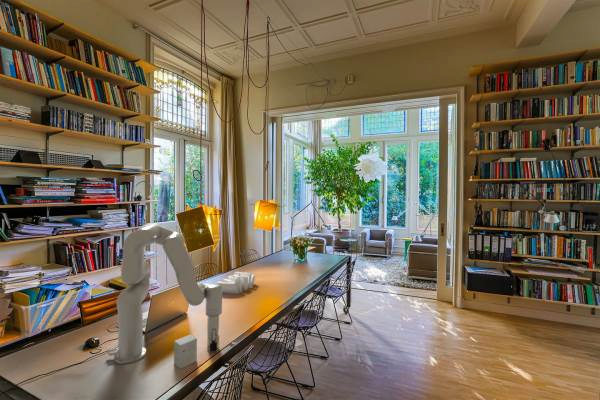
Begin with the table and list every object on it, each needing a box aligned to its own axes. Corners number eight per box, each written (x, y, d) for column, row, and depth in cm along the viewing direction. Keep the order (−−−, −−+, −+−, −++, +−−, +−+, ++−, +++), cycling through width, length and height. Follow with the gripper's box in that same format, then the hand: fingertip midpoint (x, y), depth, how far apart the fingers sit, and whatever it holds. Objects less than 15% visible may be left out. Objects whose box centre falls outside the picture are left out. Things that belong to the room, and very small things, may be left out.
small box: (190, 356, 132) (190, 333, 132) (197, 361, 129) (197, 338, 128) (173, 364, 126) (173, 340, 126) (179, 369, 123) (180, 345, 122)
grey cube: (207, 353, 135) (207, 340, 135) (207, 347, 141) (207, 334, 140) (219, 351, 137) (219, 338, 137) (218, 345, 142) (219, 333, 142)
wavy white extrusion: (231, 297, 206) (231, 283, 205) (214, 293, 213) (214, 279, 213) (259, 284, 237) (259, 271, 237) (243, 281, 244) (243, 268, 244)
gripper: (205, 304, 145) (204, 339, 146) (205, 318, 129) (205, 358, 129) (220, 302, 148) (220, 337, 148) (222, 316, 131) (222, 356, 132)
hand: (213, 347), depth 139 cm, fingers closed on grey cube, 5 cm apart
